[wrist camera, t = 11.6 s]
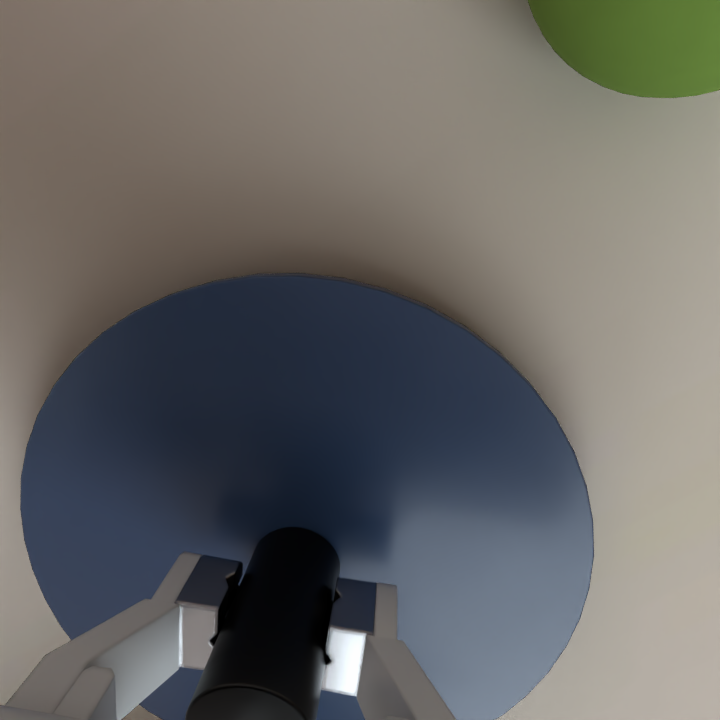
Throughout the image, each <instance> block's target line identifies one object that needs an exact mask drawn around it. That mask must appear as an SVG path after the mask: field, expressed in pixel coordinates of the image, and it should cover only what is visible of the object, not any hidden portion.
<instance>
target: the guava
mask: <svg viewBox="0 0 720 720" xmlns="http://www.w3.org/2000/svg"><path fill="white" fill-rule="evenodd" d="M528 3H529V6H530V8H531V11H532V14H533V17H534V19H535V21H536V23H537V24H538V26H539V28H540V30H541V32H542V34H543V36H544V37H545V39H546V40H547V41H548V43H549V44H550V45H551V47H552V48H553V50H554V51H555V52H556V53H557V54H558V55H559V56H560V57H561V58H562V59H563V60H564V61H565V62H566V63H567V64H568V65H569V66H570V67H572V68H573V69H574V70H575V71H577V72H578V73H579V74H581V75H582V76H584V77H586V78H588V79H589V80H591V81H593V82H595V83H597V84H599V85H601V86H603V87H606V88H608V89H611V90H614V91H617V92H620V93H623V94H629V95H634V96H639V97H654V98H677V97H686V96H696V95H701V94H705V93H709V92H713V91H718V90H720V0H528Z"/></svg>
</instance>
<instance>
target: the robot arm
mask: <svg viewBox="0 0 720 720" xmlns="http://www.w3.org/2000/svg"><path fill="white" fill-rule="evenodd" d="M242 575H243V563H242V562H241V561H236V560H230V559H225V558H220V557H214V556H209V555H201V554H196V553H190V552H185V551H184V552H183V553H182V554H180V555H179V557H178V558H177V560H176V561H175V563H174V564H173V566H172V567H171V569H170V571H169V572H168V574H167V575H166V577H165V578H164V580H163V581H162V583H161V585H160V586H159V588H158V589H157V591H156V592H155V594H154V595H153V597H152V598H151V599H144V600H142V601H140V602H138V603H136V604H135V605H133V606H131V607H129V608H128V609H126V610H124V611H122V612H121V613H119V614H117V615H115V616H114V617H112V618H110V619H108V620H106V621H105V622H103V623H101V624H99V625H98V626H96V627H94V628H92V629H91V630H89V631H87V632H85V633H84V634H82V635H80V636H78V637H76V638H75V639H73V640H71V641H69V642H68V643H66V644H64V645H62V646H61V647H59V648H57V649H55V650H54V651H52V652H50V653H48V654H46V655H45V656H44V657H43V658H42V660H41V661H40V662H39V663H38V665H37V666H36V667H35V668H34V670H33V671H32V672H31V673H30V675H29V676H28V677H27V678H26V680H25V681H24V682H23V683H22V685H21V686H20V687H19V688H18V689H17V691H16V692H15V693H14V694H13V696H12V697H11V698H10V699H9V701H8V702H7V703H6V704H5V706H4V705H0V720H121V719H122V718H123V717H125V716H126V715H127V714H128V713H129V712H130V711H132V710H133V709H134V708H135V707H136V706H137V705H138V704H140V703H141V702H142V701H143V700H144V699H145V698H146V697H148V696H149V695H150V694H151V693H152V692H153V691H154V690H156V689H157V688H158V687H159V686H160V685H161V684H163V683H164V682H165V681H166V680H167V679H168V678H169V677H171V676H172V675H173V674H174V673H175V672H176V671H177V670H179V667H184V668H192V669H199V670H204V668H205V666H206V664H207V661H208V659H209V657H210V654H211V652H212V650H213V647H214V645H215V642H216V640H217V638H218V635H219V633H220V631H221V628H222V626H223V623H224V621H225V619H226V616H227V614H228V612H229V609H230V607H231V605H232V602H233V600H234V597H235V595H236V593H237V590H238V588H239V585H238V584H239V582H240V579H241V577H242ZM326 653H327V656H326V662H325V668H324V675H323V681H322V687H321V690H326V691H331V692H336V693H341V694H346V695H351V696H356V697H357V701H358V703H359V706H360V708H361V711H362V713H363V715H364V718H365V720H456V718H455V717H454V715H453V714H452V713H451V711H450V710H449V708H448V707H447V705H446V704H445V702H444V701H443V699H442V698H441V696H440V695H439V693H438V692H437V690H436V689H435V687H434V686H433V684H432V683H431V681H430V680H429V678H428V677H427V675H426V674H425V672H424V671H423V669H422V668H421V666H420V665H419V663H418V662H417V660H416V659H415V657H414V656H413V655H412V653H411V652H410V650H409V649H408V647H407V646H406V644H405V643H404V641H402V640H397V586H396V585H392V584H385V583H378V582H377V583H376V582H369V581H363V580H356V579H349V578H343V577H337V582H336V587H335V594H334V601H333V605H332V611H331V617H330V623H329V630H328V637H327V644H326Z"/></svg>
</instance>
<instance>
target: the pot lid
mask: <svg viewBox="0 0 720 720" xmlns="http://www.w3.org/2000/svg"><path fill="white" fill-rule="evenodd" d="M20 510H21V517H22V525H23V533H24V540H25V544H26V548H27V551H28V555H29V559H30V562H31V566H32V570H33V572H34V574H35V577H36V579H37V581H38V584H39V586H40V589H41V591H42V593H43V596H44V598H45V600H46V602H47V603H48V605H49V607H50V608H51V610H52V612H53V614H54V615H55V617H56V619H57V621H58V622H59V624H60V626H61V627H62V628H63V630H64V631H65V632H66V634H67V635H68V636H69V638H70V639H71V640H73V639H75V638H76V637H78V636H80V635H82V634H84V633H85V632H87V631H89V630H91V629H92V628H94V627H96V626H98V625H99V624H101V623H103V622H105V621H106V620H108V619H110V618H112V617H114V616H115V615H117V614H119V613H121V612H122V611H124V610H126V609H128V608H129V607H131V606H133V605H135V604H136V603H138V602H140V601H142V600H144V599H151V598H152V597H153V595H154V594H155V592H156V591H157V589H158V588H159V586H160V585H161V583H162V581H163V580H164V578H165V577H166V575H167V574H168V572H169V571H170V569H171V567H172V566H173V564H174V563H175V561H176V560H177V558H178V557H179V555H180V554H182V553H183V552H184V551H185V552H190V553H196V554H201V555H209V556H214V557H220V558H225V559H230V560H236V561H241V562H242V563H243V575H242V577H241V579H240V582H239V584H238V585H239V588H238V590H237V593H236V595H235V597H234V600H233V602H232V605H231V607H230V609H229V612H228V614H227V616H226V619H225V621H224V623H223V626H222V628H221V631H220V633H219V635H218V638H217V640H216V642H215V645H214V647H213V650H212V652H211V654H210V657H209V659H208V661H207V664H206V666H205V668H204V670H199V669H192V668H184V667H179V670H177V671H176V672H175V673H174V674H173V675H172V676H171V677H169V678H168V679H167V680H166V681H165V682H164V683H163V684H161V685H160V686H159V687H158V688H157V689H156V690H154V691H153V692H152V693H151V694H150V695H149V696H148V697H146V698H145V699H144V700H143V701H142V702H141V703H140V704H139V705H140V706H142V707H143V708H145V709H146V710H147V711H149V712H151V713H152V714H154V715H156V716H157V717H159V718H161V719H163V720H365V718H364V715H363V713H362V711H361V708H360V706H359V703H358V701H357V697H356V696H351V695H346V694H341V693H336V692H331V691H326V690H321V687H322V681H323V675H324V668H325V662H326V656H327V653H326V644H327V637H328V630H329V623H330V617H331V611H332V605H333V601H334V594H335V587H336V582H337V577H343V578H349V579H356V580H363V581H369V582H376V583H377V582H378V583H385V584H392V585H396V586H397V640H402V641H404V643H405V644H406V646H407V647H408V649H409V650H410V652H411V653H412V655H413V656H414V657H415V659H416V660H417V662H418V663H419V665H420V666H421V668H422V669H423V671H424V672H425V674H426V675H427V677H428V678H429V680H430V681H431V683H432V684H433V686H434V687H435V689H436V690H437V692H438V693H439V695H440V696H441V698H442V699H443V701H444V702H445V704H446V705H447V707H448V708H449V710H450V711H451V713H452V714H453V715H454V717H455V718H456V720H495V719H497V718H499V717H500V716H502V715H503V714H505V713H506V712H507V711H508V710H510V709H511V708H512V707H513V706H514V705H516V704H517V703H518V702H519V701H520V700H522V699H523V698H524V697H525V696H527V695H528V694H529V693H530V692H531V690H532V689H533V688H534V687H535V686H536V685H537V684H538V683H539V682H540V681H541V680H542V679H543V678H544V676H545V675H546V674H547V673H548V672H549V671H550V669H551V668H552V666H553V665H554V663H555V662H556V661H557V659H558V658H559V656H560V655H561V653H562V652H563V650H564V649H565V648H566V646H567V644H568V642H569V640H570V638H571V636H572V634H573V632H574V630H575V628H576V625H577V623H578V621H579V619H580V617H581V613H582V610H583V607H584V604H585V600H586V597H587V594H588V591H589V586H590V579H591V572H592V565H593V558H594V540H593V518H592V513H591V507H590V502H589V496H588V491H587V486H586V483H585V480H584V478H583V475H582V472H581V469H580V466H579V464H578V461H577V458H576V455H575V452H574V450H573V448H572V447H571V445H570V443H569V441H568V439H567V437H566V436H565V434H564V432H563V430H562V428H561V426H560V424H559V423H558V421H557V419H556V417H555V416H554V415H553V413H552V412H551V411H550V409H549V408H548V407H547V405H546V404H545V403H544V401H543V400H542V399H541V397H540V396H539V395H538V393H537V392H536V391H535V389H534V388H533V387H532V385H531V384H530V383H529V381H528V380H527V379H526V378H525V377H524V376H523V375H522V374H521V373H520V372H519V371H518V370H517V369H516V368H515V367H514V366H513V365H512V364H511V363H510V362H509V361H508V360H507V359H506V358H505V357H504V356H503V355H502V354H501V353H500V352H499V351H497V350H496V349H495V348H493V347H492V346H491V345H489V344H488V343H487V342H485V341H484V340H483V339H481V338H480V337H479V336H477V335H476V334H475V333H473V332H472V331H471V330H469V329H468V328H467V327H466V326H464V325H462V324H460V323H459V322H457V321H455V320H453V319H451V318H450V317H448V316H446V315H444V314H442V313H441V312H439V311H437V310H435V309H434V308H432V307H430V306H428V305H426V304H423V303H421V302H418V301H416V300H413V299H411V298H408V297H406V296H403V295H401V294H398V293H396V292H393V291H391V290H388V289H385V288H381V287H377V286H373V285H369V284H365V283H361V282H358V281H354V280H350V279H346V278H339V277H330V276H322V275H313V274H305V273H272V274H253V275H246V276H240V277H233V278H227V279H220V280H215V281H212V282H208V283H205V284H202V285H198V286H195V287H192V288H188V289H185V290H182V291H179V292H176V293H173V294H170V295H168V296H166V297H164V298H162V299H160V300H157V301H155V302H153V303H151V304H149V305H147V306H145V307H143V308H140V309H138V310H136V311H134V312H133V313H131V314H130V315H128V316H127V317H125V318H124V319H122V320H121V321H119V322H118V323H116V324H115V325H113V326H112V327H110V328H109V329H107V330H106V331H104V332H103V333H102V334H100V335H99V336H98V337H97V338H96V339H95V340H94V341H93V342H92V343H91V344H90V345H89V346H87V347H86V348H85V349H84V350H83V351H82V352H81V353H80V354H79V355H78V356H77V357H76V358H75V359H74V360H73V361H72V363H71V364H70V365H69V367H68V368H67V369H66V370H65V372H64V373H63V374H62V376H61V377H60V378H59V379H58V381H57V382H56V383H55V385H54V386H53V388H52V390H51V392H50V393H49V395H48V397H47V399H46V401H45V403H44V404H43V406H42V408H41V410H40V412H39V414H38V415H37V418H36V421H35V424H34V427H33V430H32V433H31V435H30V438H29V441H28V444H27V447H26V453H25V458H24V464H23V470H22V475H21V505H20Z"/></svg>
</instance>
